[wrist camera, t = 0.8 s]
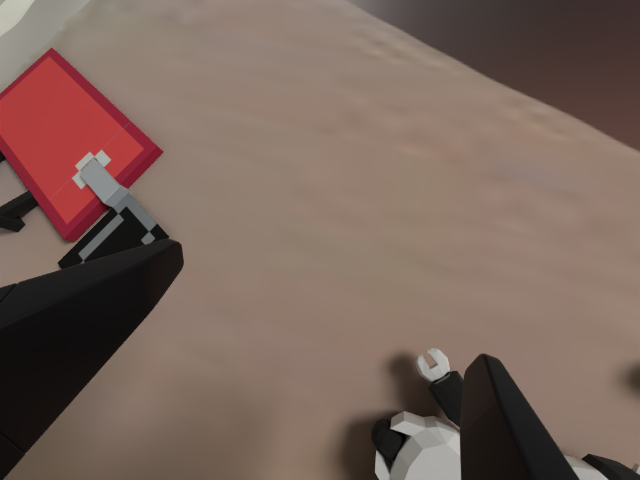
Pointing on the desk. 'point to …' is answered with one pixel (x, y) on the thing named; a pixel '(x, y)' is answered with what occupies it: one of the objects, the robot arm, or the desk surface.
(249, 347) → the desk surface
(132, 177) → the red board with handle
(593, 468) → the robot toy
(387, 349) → the desk surface
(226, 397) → the desk surface
